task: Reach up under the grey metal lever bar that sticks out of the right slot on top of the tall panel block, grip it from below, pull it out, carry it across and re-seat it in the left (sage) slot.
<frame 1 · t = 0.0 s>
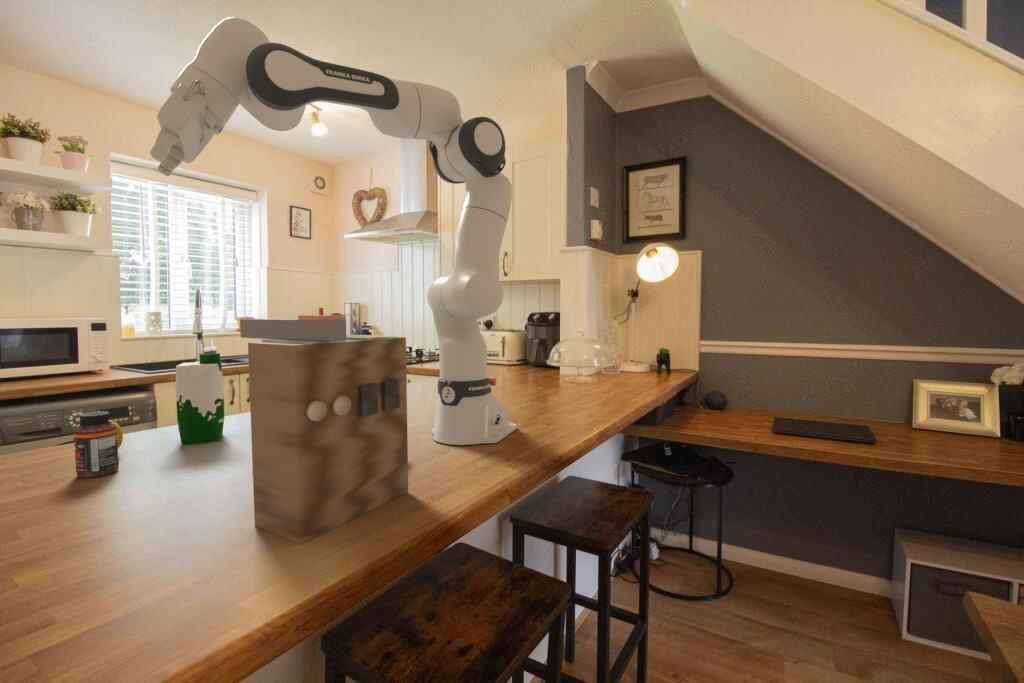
hand: (159, 166, 79), 54 cm above the countertop, tool tilted 30°, fingers open, 8 cm apart
milk carton: (202, 440, 110), on the countertop
supplement bottle: (98, 474, 87), on the countertop
paddle lever: (290, 339, 67), point 26 cm above the countertop, touching panel block
lemon: (106, 457, 97), on the countertop
panel block: (338, 508, 72), on the countertop
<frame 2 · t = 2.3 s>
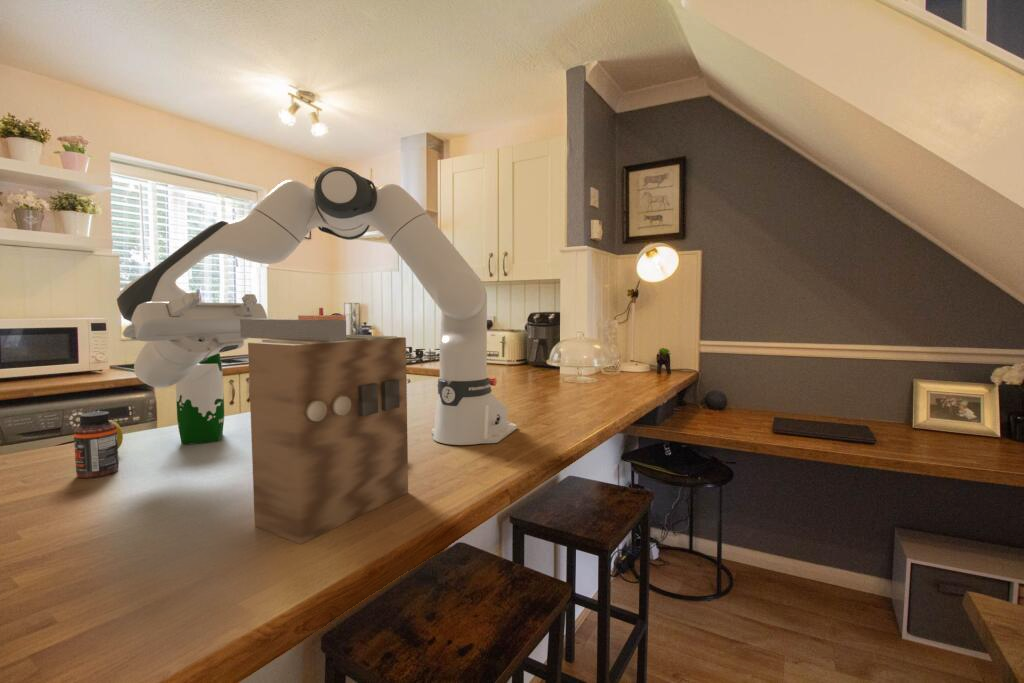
hand: (224, 296, 79), 32 cm above the countertop, tool pointing upward, fingers open, 8 cm apart
nothing on the countertop moved.
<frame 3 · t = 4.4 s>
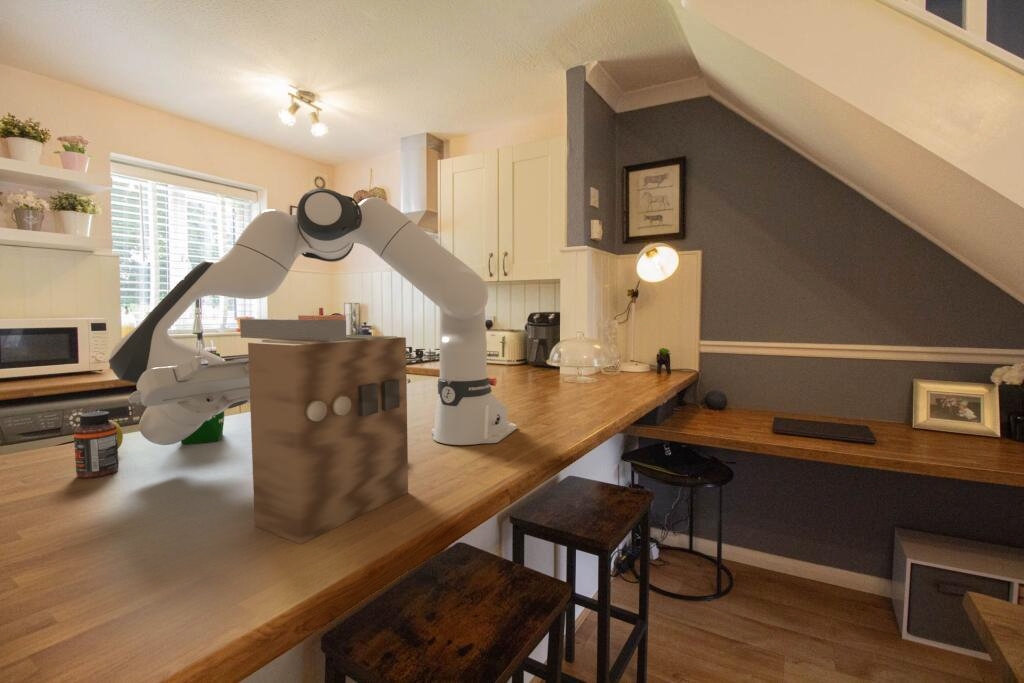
hand: (233, 357, 75), 23 cm above the countertop, tool pointing upward, fingers open, 8 cm apart
nothing on the countertop moved.
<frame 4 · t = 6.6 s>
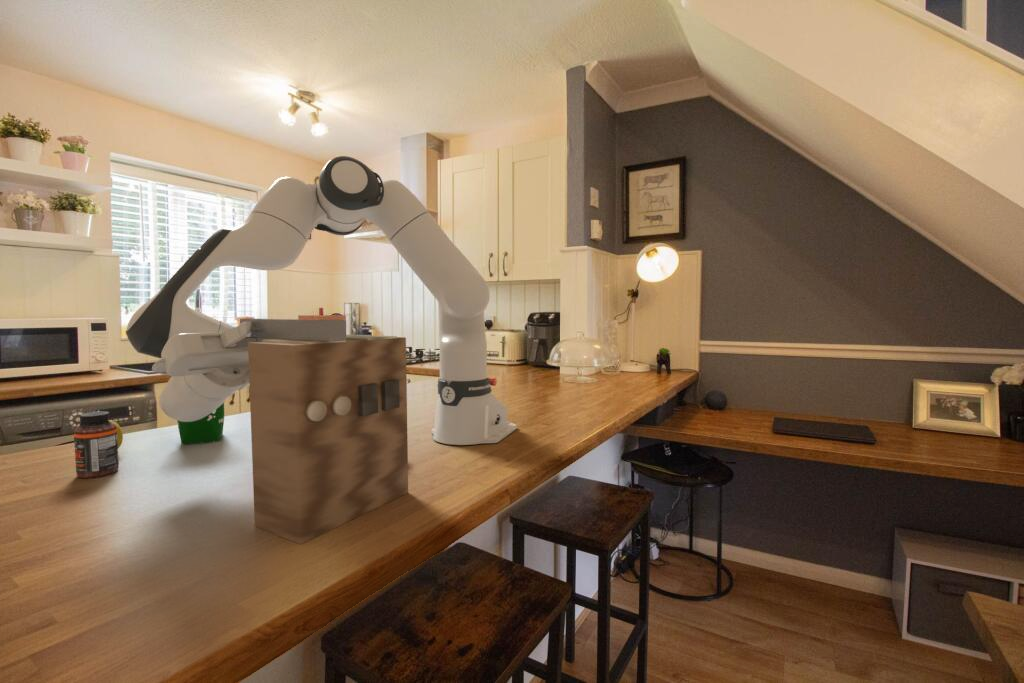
hand: (264, 325, 70), 28 cm above the countertop, tool pointing upward, fingers closed on paddle lever, 3 cm apart
paddle lever: (290, 339, 67), point 26 cm above the countertop, touching gripper, panel block
everything else where it was.
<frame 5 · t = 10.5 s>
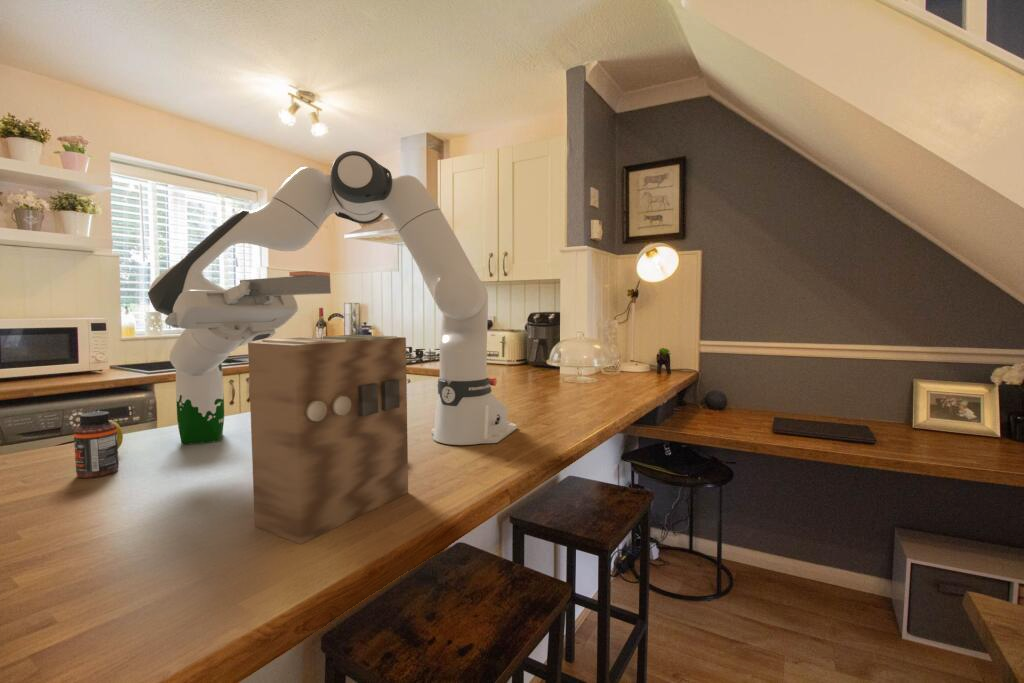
hand: (260, 285, 82), 34 cm above the countertop, tool pointing upward, fingers closed on paddle lever, 3 cm apart
paddle lever: (283, 295, 79), point 33 cm above the countertop, touching gripper
everything else where it was.
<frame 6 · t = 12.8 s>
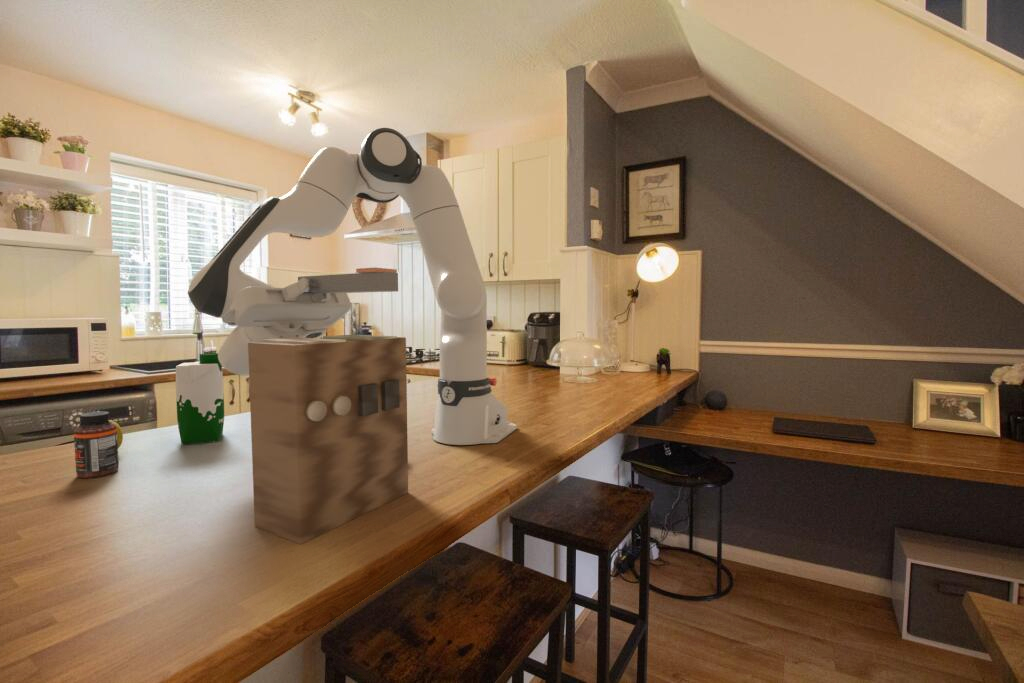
hand: (319, 282, 78), 35 cm above the countertop, tool pointing upward, fingers closed on paddle lever, 3 cm apart
paddle lever: (345, 292, 75), point 33 cm above the countertop, touching gripper
everything else where it was.
when the fingers open (29 cm above the countertop, at t = 14.4 s): paddle lever drops 1 cm, resting on panel block.
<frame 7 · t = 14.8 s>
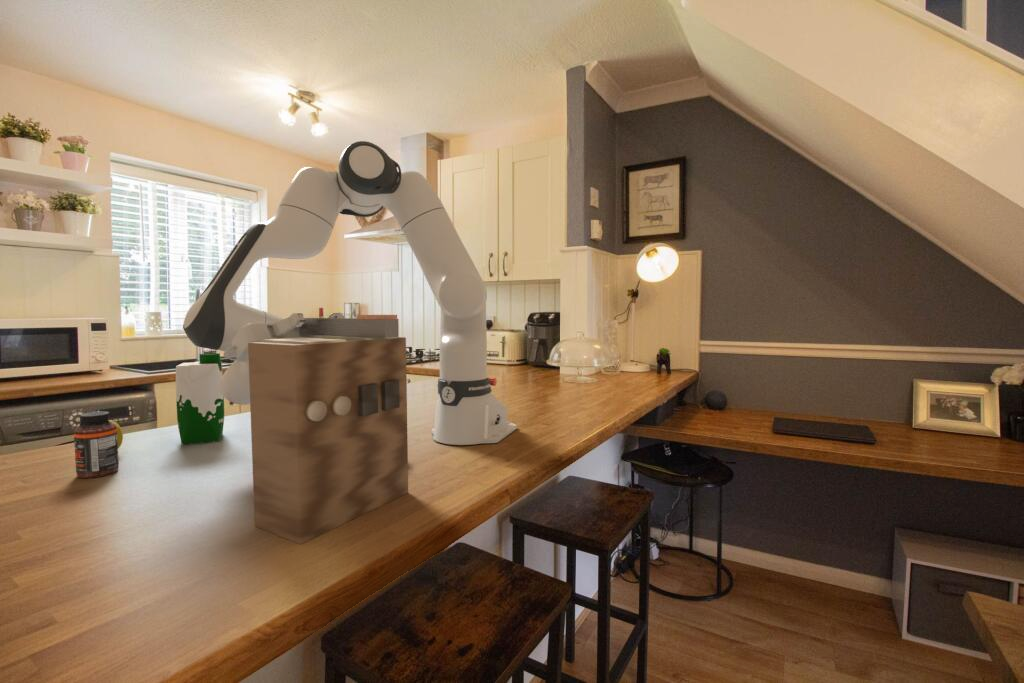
hand: (321, 316, 79), 29 cm above the countertop, tool pointing upward, fingers open, 6 cm apart
paddle lever: (346, 335, 76), point 26 cm above the countertop, touching panel block
everything else where it was.
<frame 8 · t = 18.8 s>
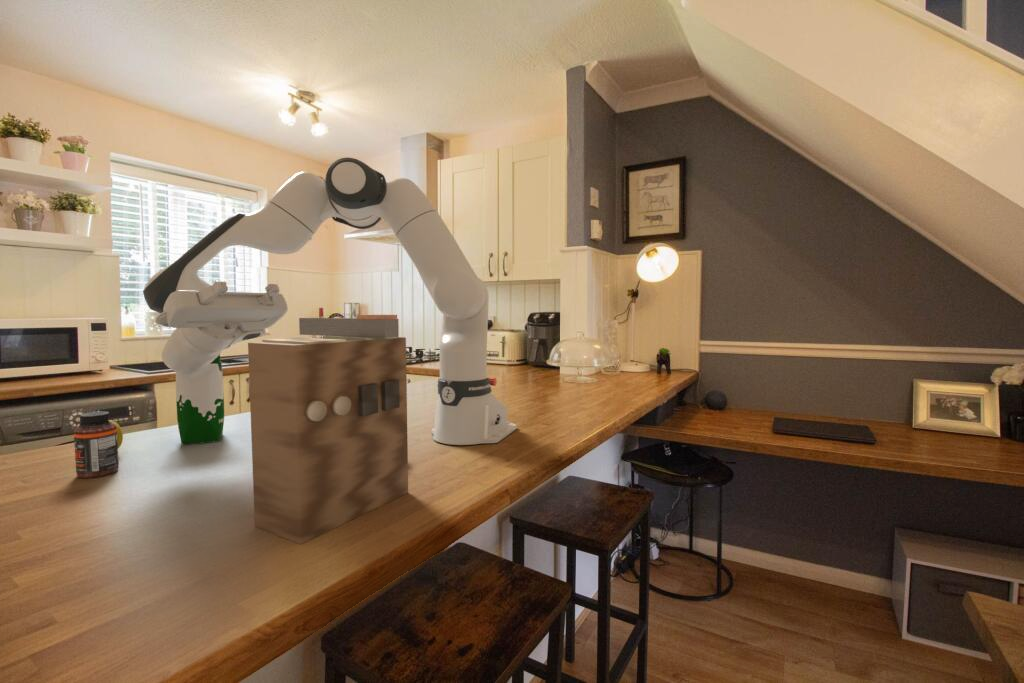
hand: (250, 286, 83), 34 cm above the countertop, tool pointing upward, fingers open, 8 cm apart
nothing on the countertop moved.
at the end: paddle lever inside the target area (1.1 cm from its centre), point 26.0 cm above the countertop; the gripper is holding nothing; paddle lever tilted 0° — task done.
